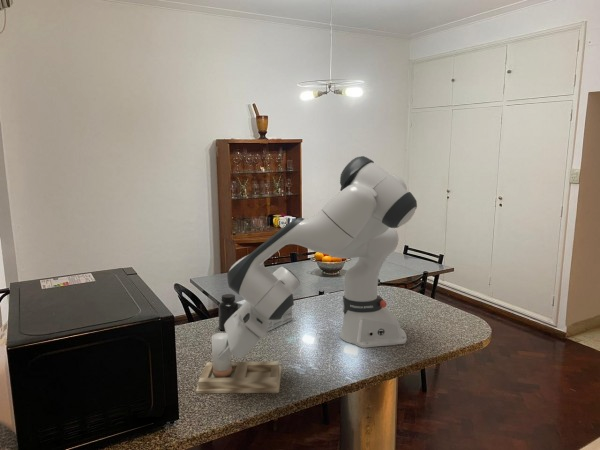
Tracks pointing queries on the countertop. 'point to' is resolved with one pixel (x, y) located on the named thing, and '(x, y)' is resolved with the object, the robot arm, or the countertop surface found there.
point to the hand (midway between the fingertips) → (219, 353)
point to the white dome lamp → (218, 345)
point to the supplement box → (274, 323)
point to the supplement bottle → (226, 309)
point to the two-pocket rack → (242, 378)
